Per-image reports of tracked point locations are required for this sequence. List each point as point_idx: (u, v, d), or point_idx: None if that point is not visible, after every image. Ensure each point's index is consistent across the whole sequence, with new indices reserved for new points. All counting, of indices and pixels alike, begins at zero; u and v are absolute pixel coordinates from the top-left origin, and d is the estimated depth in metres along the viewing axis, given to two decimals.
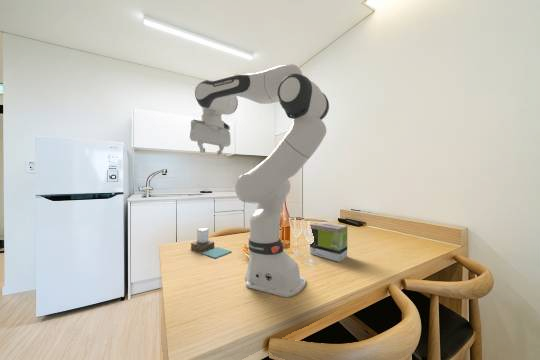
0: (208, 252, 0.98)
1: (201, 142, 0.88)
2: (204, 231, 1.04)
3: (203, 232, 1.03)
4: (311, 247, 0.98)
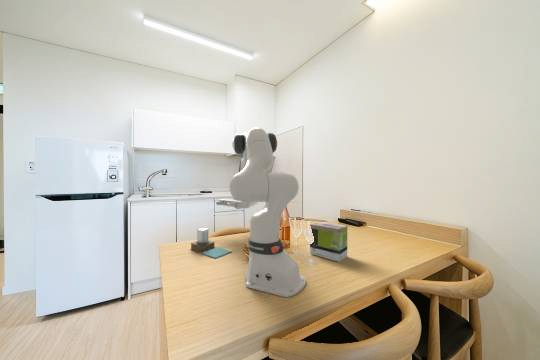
0: (208, 252, 0.98)
1: (220, 200, 1.23)
2: (204, 231, 1.04)
3: (203, 232, 1.03)
4: (311, 247, 0.98)
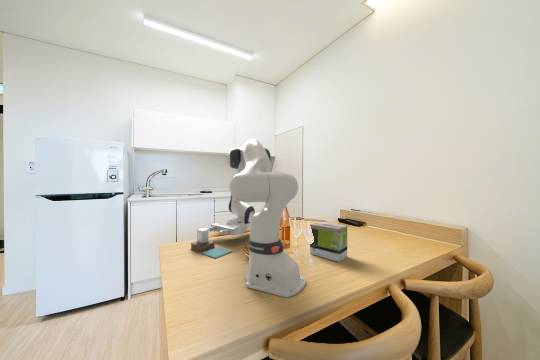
0: (208, 252, 0.98)
1: (213, 226, 1.18)
2: (204, 231, 1.04)
3: (203, 232, 1.03)
4: (311, 247, 0.98)
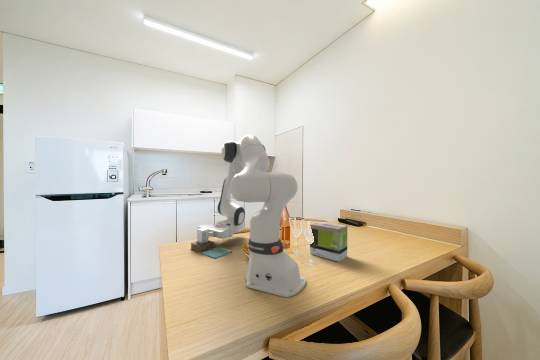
0: (208, 252, 0.98)
1: None
2: (204, 231, 1.04)
3: (203, 232, 1.03)
4: (311, 247, 0.98)
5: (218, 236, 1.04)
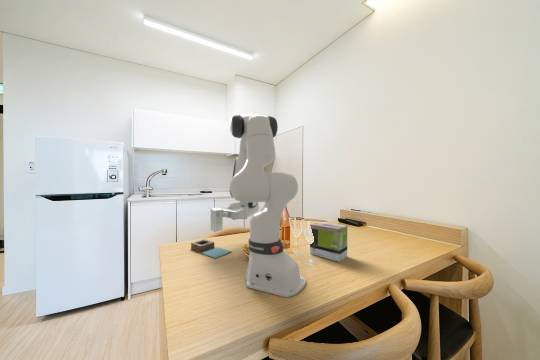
0: (208, 252, 0.98)
1: None
2: (218, 211, 0.97)
3: (217, 212, 0.97)
4: (311, 247, 0.98)
5: (233, 217, 0.97)
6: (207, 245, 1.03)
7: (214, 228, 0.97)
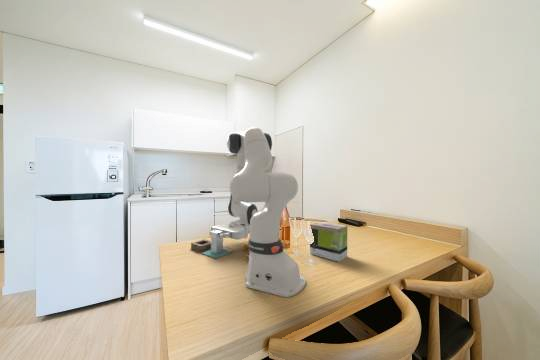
0: (208, 252, 0.98)
1: (215, 229, 1.04)
2: (219, 234, 0.97)
3: (218, 235, 0.97)
4: (311, 247, 0.98)
5: (233, 237, 0.97)
6: (207, 245, 1.03)
7: (214, 251, 0.97)
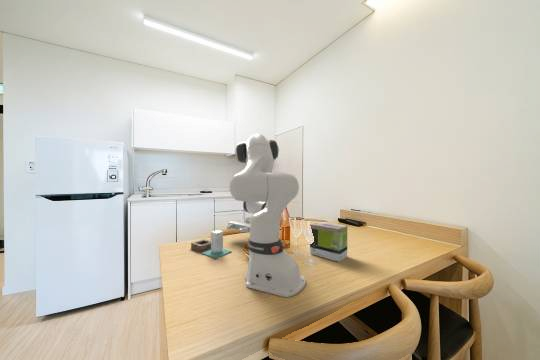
0: (208, 252, 0.98)
1: (231, 224, 1.15)
2: (219, 234, 0.97)
3: (218, 235, 0.97)
4: (311, 247, 0.98)
5: None
6: (207, 245, 1.03)
7: (214, 251, 0.97)
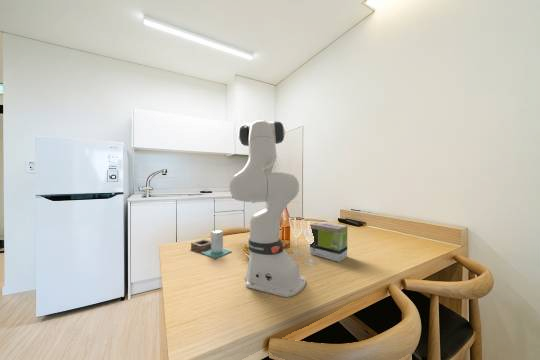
0: (208, 252, 0.98)
1: None
2: (219, 234, 0.97)
3: (218, 235, 0.97)
4: (311, 247, 0.98)
5: None
6: (207, 245, 1.03)
7: (214, 251, 0.97)
